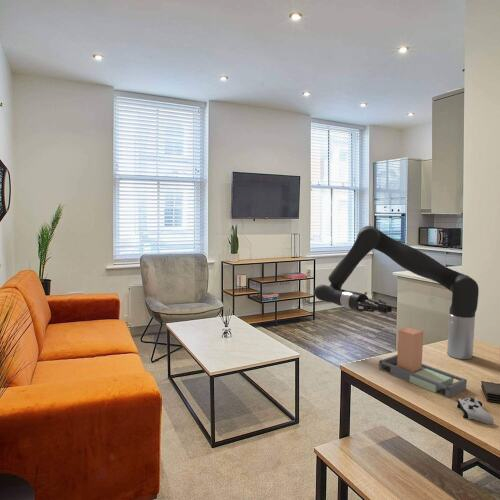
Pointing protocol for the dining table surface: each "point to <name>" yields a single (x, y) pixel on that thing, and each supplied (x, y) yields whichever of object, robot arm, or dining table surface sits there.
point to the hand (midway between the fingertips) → (389, 309)
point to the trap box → (426, 377)
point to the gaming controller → (474, 410)
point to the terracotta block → (410, 349)
